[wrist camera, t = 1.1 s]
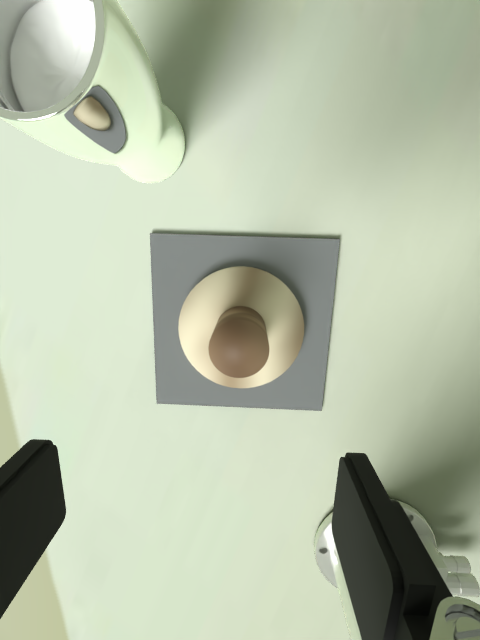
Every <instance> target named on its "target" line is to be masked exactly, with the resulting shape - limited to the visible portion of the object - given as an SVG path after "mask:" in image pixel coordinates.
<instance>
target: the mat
mask: <svg viewBox="0 0 480 640" xmlns="http://www.w3.org/2000/svg"><path fill="white" fill-rule="evenodd" d="M339 243H340V239H318V238H286V237H253V236H221V235H188V234H156V233H150V246H151V272H152V297H153V322H154V348H155V373H156V399H157V404H180V405H202V406H225V407H247V408H269V409H292V410H314V411H322V404H323V394H324V385H325V375H326V366H327V356H328V347H329V337H330V328H331V318H332V309H333V299H334V290H335V281H336V271H337V262H338V252H339ZM235 266H246V267H253V268H258V269H261V270H264V271H266V272H268V273H270V274H272V275H274V276H276V277H277V278H278V279H280V280H281V281H282V282H283V283H284V284H285V285H286V286H287V287H288V288H289V289H290V291H291V292H292V293H293V294H294V296H295V298H296V299H297V301H298V303H299V305H300V308H301V311H302V314H303V320H304V337H303V342H302V346H301V349H300V351H299V353H298V356H297V357H296V359H295V360H294V362H293V363H292V365H291V366H290V367H289V368H288V369H287V370H286V371H285V372H284V373H283V374H282V375H280V376H279V377H278V378H276V379H274V380H273V381H271V382H269V383H266V384H264V385H261V386H257V387H252V388H231V387H227V386H223V385H220V384H217V383H215V382H213V381H211V380H209V379H207V378H206V377H204V376H203V375H202V374H201V373H199V372H198V371H197V370H196V369H195V368H194V367H193V366H192V364H191V363H190V362H189V360H188V359H187V357H186V355H185V353H184V351H183V349H182V346H181V343H180V338H179V330H178V326H179V316H180V312H181V309H182V306H183V304H184V301H185V299H186V298H187V296H188V295H189V293H190V292H191V290H192V289H193V288H194V287H195V286H196V285H197V284H198V283H199V282H200V281H202V280H203V279H204V278H205V277H207V276H209V275H210V274H212V273H214V272H216V271H218V270H221V269H225V268H229V267H235Z"/></svg>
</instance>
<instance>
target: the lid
mask: <svg viewBox="0 0 480 640" xmlns="http://www.w3.org/2000/svg"><path fill="white" fill-rule="evenodd" d="M178 330H179V338H180V343H181V346H182V349H183V351H184V353H185V355H186V357H187V359H188V360H189V362H190V363H191V364H192V366H193V367H194V368H195V369H196V370H197V371H198V372H199V373H201V374H202V375H203V376H204V377H206V378H207V379H209V380H211V381H213V382H215V383H217V384H220V385H223V386H227V387H231V388H252V387H257V386H261V385H264V384H266V383H269V382H271V381H273V380H274V379H276V378H278V377H279V376H280V375H282V374H283V373H284V372H285V371H286V370H287V369H288V368H289V367H290V366H291V365H292V363H293V362H294V360H295V359H296V357H297V356H298V353H299V351H300V349H301V346H302V342H303V337H304V320H303V314H302V311H301V308H300V305H299V303H298V301H297V299H296V298H295V296H294V294H293V293H292V292H291V291H290V289H289V288H288V287H287V286H286V285H285V284H284V283H283V282H282V281H281V280H280V279H278V278H277V277H276V276H274V275H272V274H270V273H268V272H266V271H264V270H261V269H258V268H253V267H246V266H235V267H229V268H225V269H221V270H218V271H216V272H214V273H212V274H210V275H209V276H207V277H205V278H204V279H203V280H202V281H200V282H199V283H198V284H197V285H196V286H195V287H194V288H193V289H192V290H191V292H190V293H189V295H188V296H187V298H186V299H185V301H184V304H183V306H182V309H181V312H180V316H179V326H178Z"/></svg>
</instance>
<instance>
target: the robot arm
mask: <svg viewBox="0 0 480 640" xmlns="http://www.w3.org/2000/svg"><path fill="white" fill-rule="evenodd" d="M65 515H66V507H65V499H64V492H63V485H62V478H61V471H60V464H59V457H58V450H57V447H56V445H53V443H52V441H50V440H36V439H33V440H30V441H28V442H27V443H26V444H25V445H24V446H23V447H22V448H21V449H20V450H19V451H18V452H16V453H15V454H14V455H13V456H12V457H11V458H10V459H9V460H8V461H7V462H6V463H5V464H4V465H2V467H1V468H0V619H1V617H2V615H3V614H4V612H5V611H6V609H7V608H8V606H9V604H10V603H11V601H12V600H13V599H14V597H15V595H16V594H17V592H18V591H19V589H20V588H21V586H22V585H23V583H24V582H25V580H26V579H27V577H28V575H29V574H30V572H31V571H32V569H33V568H34V566H35V565H36V563H37V562H38V560H39V559H40V557H41V555H42V554H43V552H44V551H45V549H46V548H47V546H48V545H49V543H50V542H51V540H52V539H53V537H54V535H55V534H56V532H57V531H58V529H59V528H60V526H61V525H62V523H63V521H64V519H65ZM314 552H315V557H316V561H317V565H318V567H319V570H320V572H321V573H322V575H323V576H324V577H325V579H326V580H327V581H329V582H330V583H331V584H332V585H333V586H335V587H336V588H338V591H339V595H340V599H341V603H342V607H343V611H344V615H345V619H346V623H347V627H348V631H349V635H350V639H351V640H480V605H479V604H477V603H475V602H473V601H471V600H469V599H465V598H461V597H453V596H452V595H458V596H467V597H479V595H480V588H479V585H478V582H477V580H476V578H475V577H474V576H473V575H472V574H471V573H470V572H471V567H470V563H469V561H468V559H467V558H466V557H464V556H451V555H450V556H443V555H442V554H441V553H440V552H438V551H437V549H436V540H435V536H434V533H433V531H432V529H431V527H430V526H429V524H428V523H427V521H426V520H425V518H424V517H423V516H422V515H421V514H420V513H419V512H418V511H417V510H416V509H414V508H413V507H411V506H410V505H408V504H406V503H403V502H401V501H398V500H394V499H390V498H389V496H388V494H387V492H386V491H385V489H384V487H383V485H382V483H381V481H380V479H379V478H378V476H377V474H376V472H375V470H374V468H373V466H372V464H371V463H370V461H369V459H368V457H367V455H366V454H364V453H346V455H345V457H341V458H340V461H339V469H338V477H337V484H336V492H335V500H334V508H333V512H332V513H331V514H330V515H329V516H328V517H326V518H325V519H324V521H323V522H322V524H321V525H320V527H319V528H318V531H317V533H316V536H315V541H314ZM448 572H451V573H448Z"/></svg>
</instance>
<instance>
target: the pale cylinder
mask: <svg viewBox="0 0 480 640" xmlns="http://www.w3.org/2000/svg"><path fill="white" fill-rule="evenodd" d="M0 119H2V120H4V121H5V122H7V123H8V124H10V125H12V126H13V127H15V128H16V129H18V130H20V131H21V132H23V133H25V134H27V135H28V136H30V137H32V138H33V139H35V140H37V141H39V142H41V143H43V144H45V145H47V146H49V147H51V148H53V149H55V150H57V151H59V152H62V153H64V154H67V155H69V156H72V157H74V158H77V159H80V160H85V161H89V162H93V163H98V164H106V165H115V166H118V167H119V168H120V169H121V171H122V172H123V173H125V174H126V175H127V176H128V177H130V178H132V179H133V180H135V181H138V182H141V183H148V184H151V183H158V182H161V181H164V180H166V179H167V178H169V177H170V176H171V175H173V174H174V173H175V171H176V170H177V169H178V167H179V166H180V164H181V162H182V159H183V156H184V151H185V137H184V132H183V129H182V126H181V124H180V122H179V120H178V118H177V117H176V116H175V114H174V113H173V112H172V111H171V110H170V109H169V108H168V107H167V106H165V105H164V104H162V100H161V96H160V92H159V88H158V84H157V80H156V77H155V74H154V71H153V68H152V65H151V62H150V59H149V57H148V55H147V52H146V50H145V48H144V46H143V44H142V42H141V40H140V38H139V36H138V34H137V32H136V30H135V29H134V27H133V25H132V24H131V22H130V20H129V19H128V17H127V15H126V14H125V12H124V10H123V9H122V7H121V5H120V4H119V2H118V1H117V0H0Z"/></svg>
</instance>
